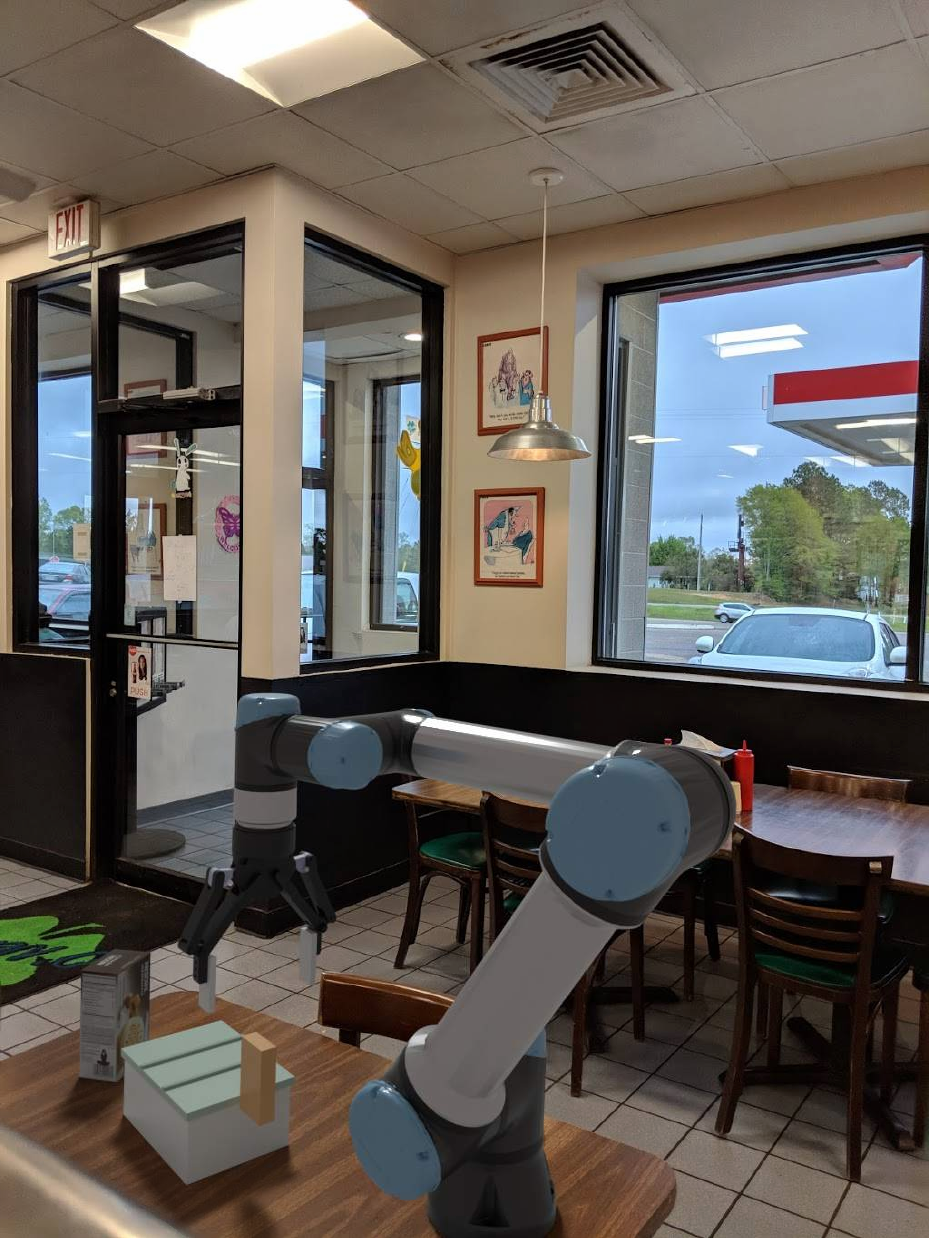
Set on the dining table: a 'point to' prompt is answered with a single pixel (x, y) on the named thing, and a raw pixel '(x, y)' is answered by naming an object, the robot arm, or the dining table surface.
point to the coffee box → (113, 1012)
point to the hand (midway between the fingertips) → (258, 994)
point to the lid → (212, 1071)
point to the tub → (202, 1131)
